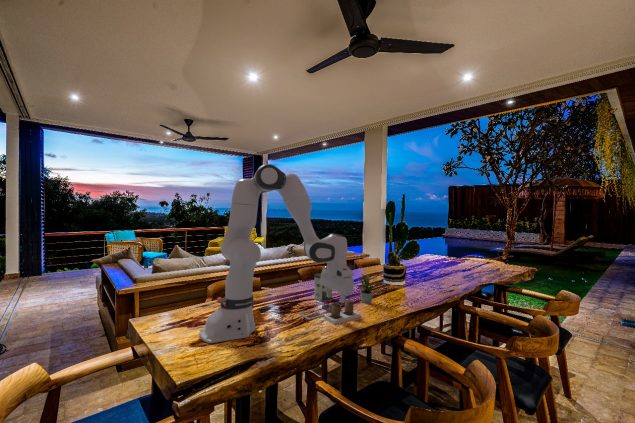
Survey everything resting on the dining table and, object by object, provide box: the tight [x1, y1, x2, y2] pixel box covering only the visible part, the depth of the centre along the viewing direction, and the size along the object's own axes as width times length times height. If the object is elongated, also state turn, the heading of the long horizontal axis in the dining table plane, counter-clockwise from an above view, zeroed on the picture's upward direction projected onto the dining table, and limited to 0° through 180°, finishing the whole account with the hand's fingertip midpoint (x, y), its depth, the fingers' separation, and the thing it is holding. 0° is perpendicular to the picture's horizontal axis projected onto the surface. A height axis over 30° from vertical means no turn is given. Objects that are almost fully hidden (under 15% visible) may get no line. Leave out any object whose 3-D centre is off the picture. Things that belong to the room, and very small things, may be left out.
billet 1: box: [331, 302, 342, 319], centre depth 136 cm, size 4×4×7 cm
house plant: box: [354, 273, 379, 306], centre depth 164 cm, size 14×14×16 cm
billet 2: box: [344, 299, 354, 316], centre depth 140 cm, size 4×4×7 cm
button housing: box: [321, 303, 342, 314], centre depth 150 cm, size 7×7×2 cm
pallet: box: [323, 310, 361, 325], centre depth 138 cm, size 16×7×2 cm, turn 125°
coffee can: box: [313, 272, 333, 302], centre depth 169 cm, size 10×10×14 cm
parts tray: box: [298, 309, 326, 321], centre depth 141 cm, size 9×9×2 cm
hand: (335, 299), depth 135 cm, fingers open, 8 cm apart
